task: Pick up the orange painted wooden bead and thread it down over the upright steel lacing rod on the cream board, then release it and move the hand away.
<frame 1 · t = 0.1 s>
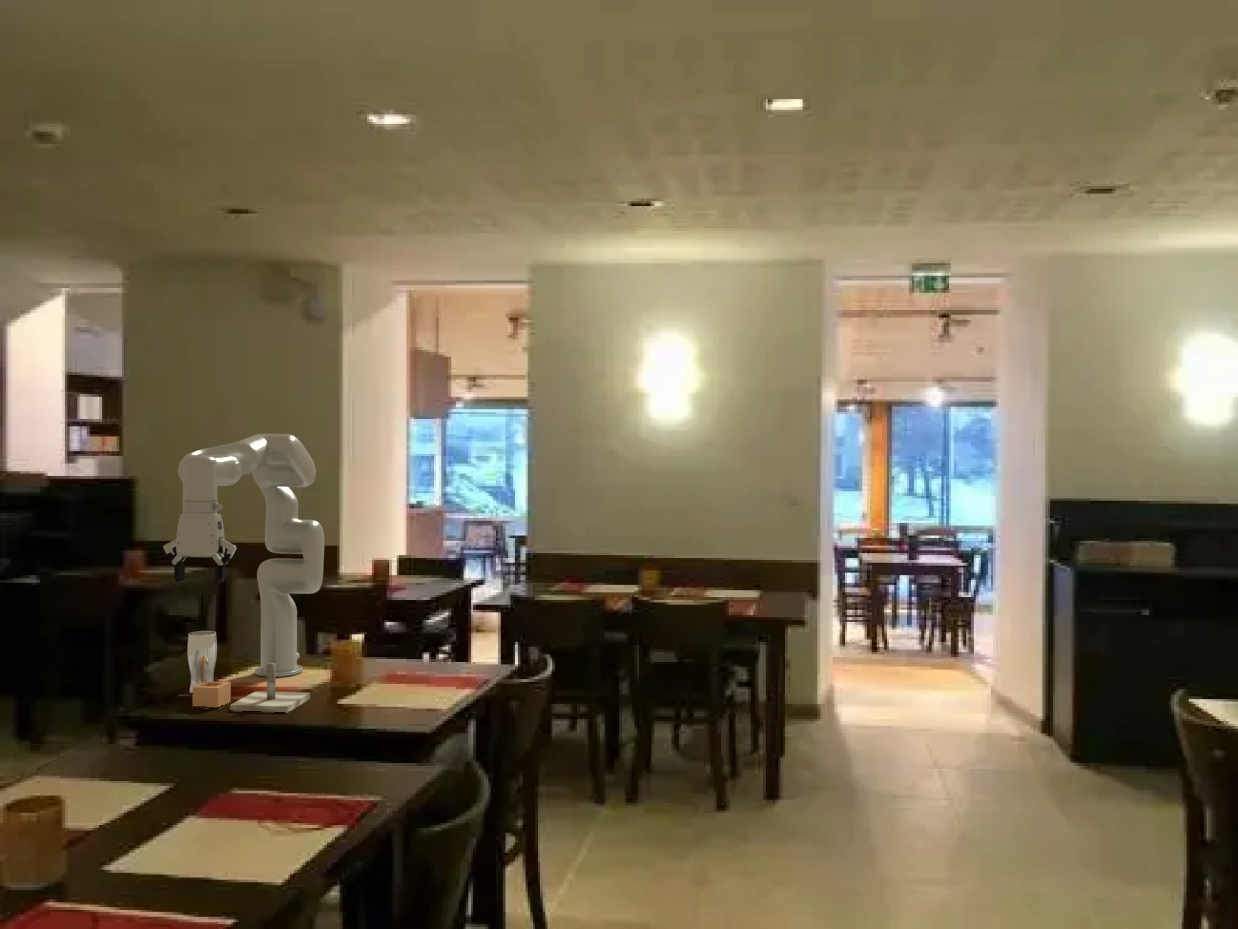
hand: (199, 581, 246), 31 cm above the table, fingers open, 9 cm apart
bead: (211, 705, 255), on the table
lacing board: (271, 704, 255), on the table
beer glass: (202, 692, 268), on the table
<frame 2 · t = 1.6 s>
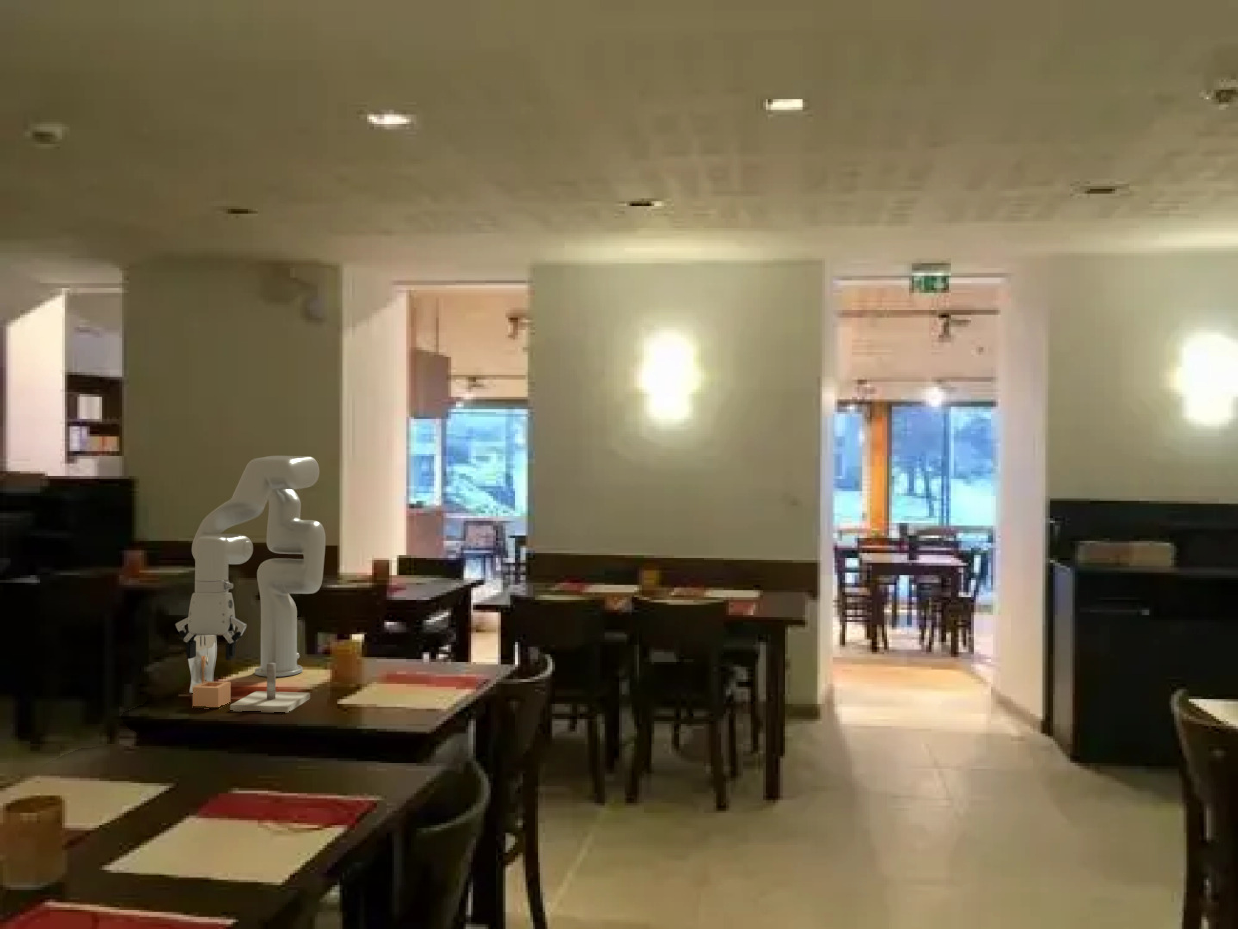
hand: (210, 658, 254), 11 cm above the table, fingers open, 9 cm apart
nothing on the table moved.
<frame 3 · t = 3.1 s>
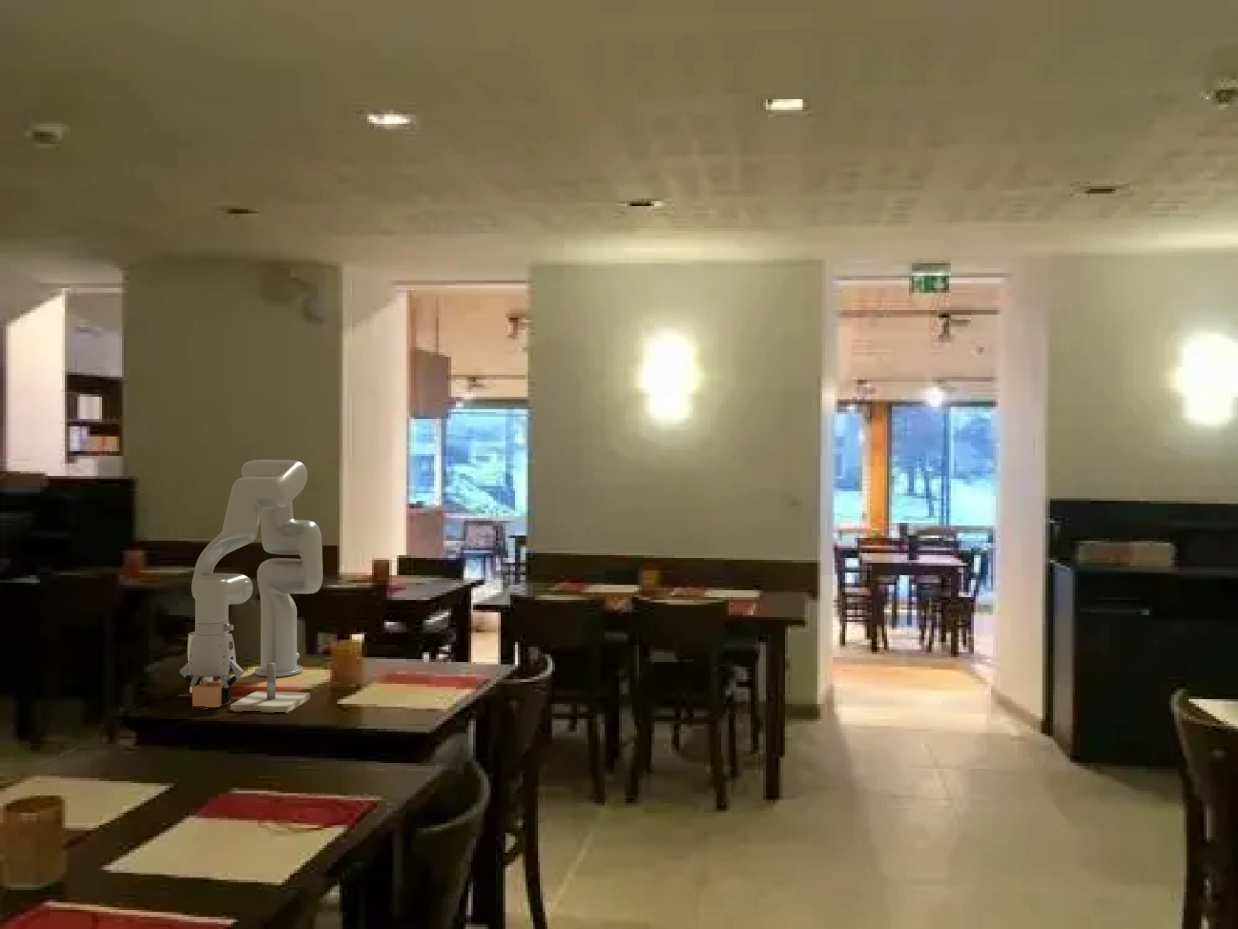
hand: (211, 702, 254), 1 cm above the table, fingers closed on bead, 6 cm apart
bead: (211, 705, 254), on the table, touching gripper
everything else where it was.
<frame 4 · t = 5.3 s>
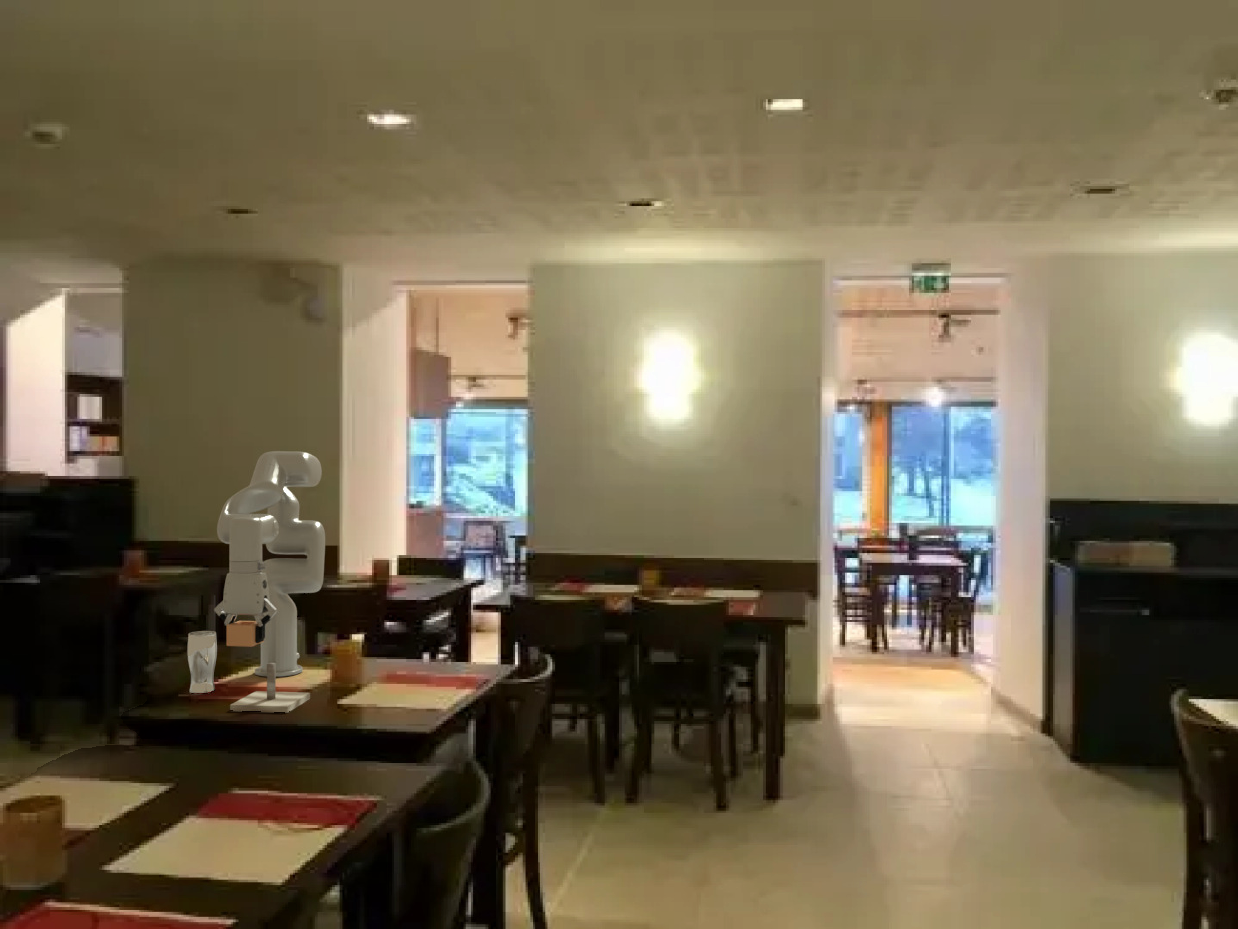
hand: (245, 641, 255), 16 cm above the table, fingers closed on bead, 6 cm apart
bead: (245, 643, 255), point 15 cm above the table, touching gripper
everything else where it was.
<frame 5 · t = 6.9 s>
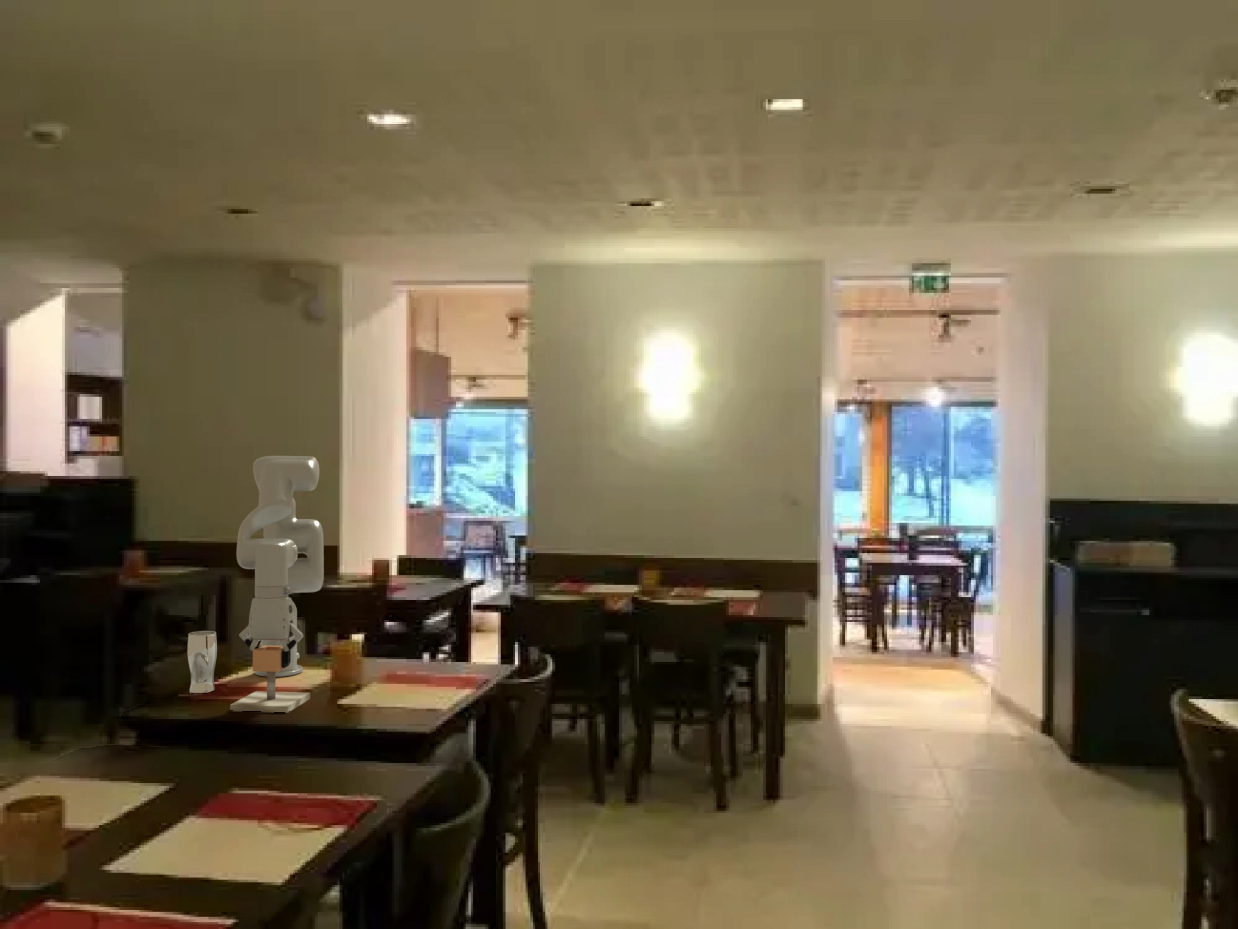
hand: (271, 666, 255), 10 cm above the table, fingers closed on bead, 6 cm apart
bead: (271, 668, 255), point 9 cm above the table, touching gripper
everything else where it was.
when the fingers open (7 cm above the table, at t = 7.8 s): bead drops 5 cm, resting on lacing board.
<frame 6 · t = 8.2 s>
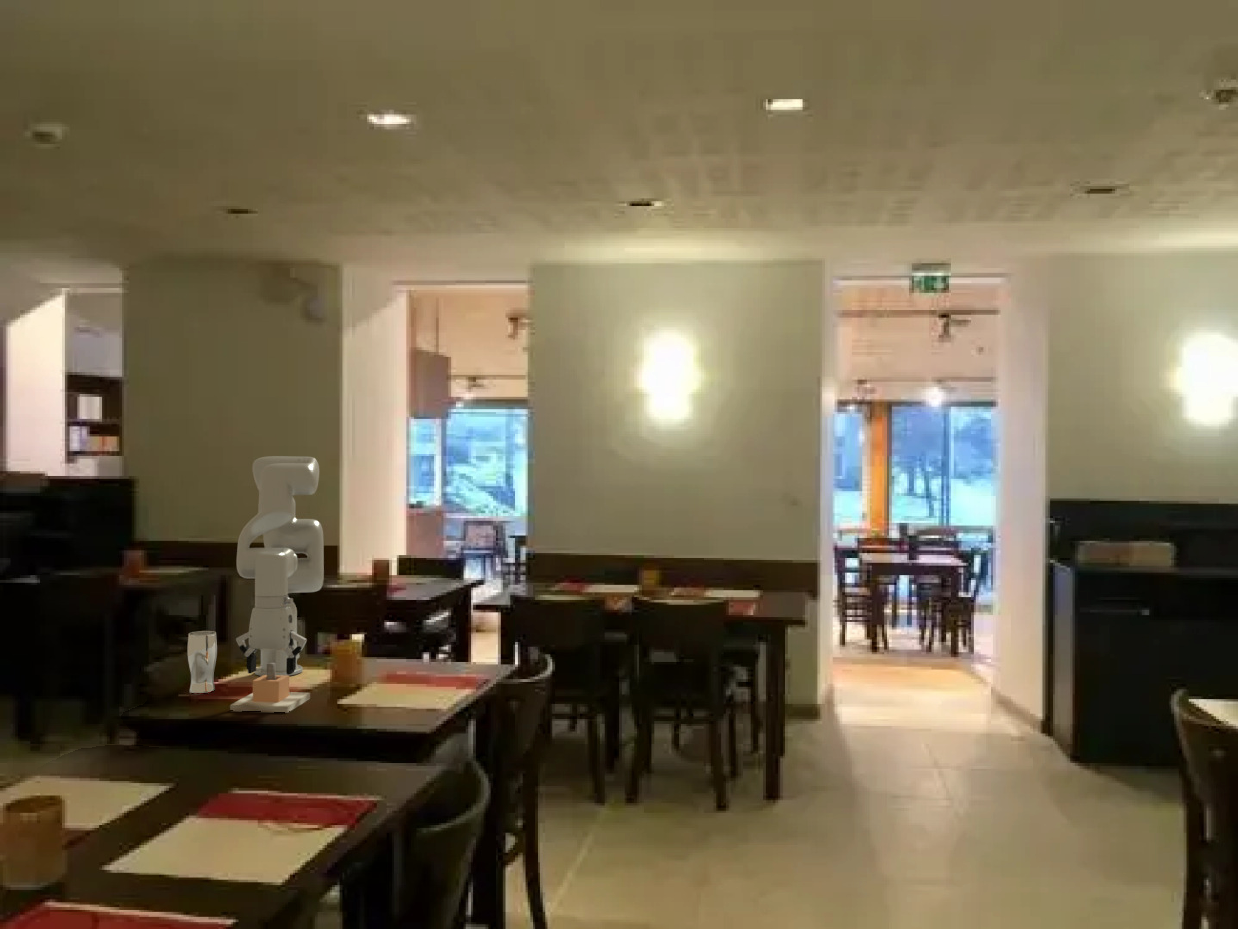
hand: (271, 672, 255), 8 cm above the table, fingers open, 9 cm apart
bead: (271, 698, 255), point 1 cm above the table, touching lacing board
everything else where it was.
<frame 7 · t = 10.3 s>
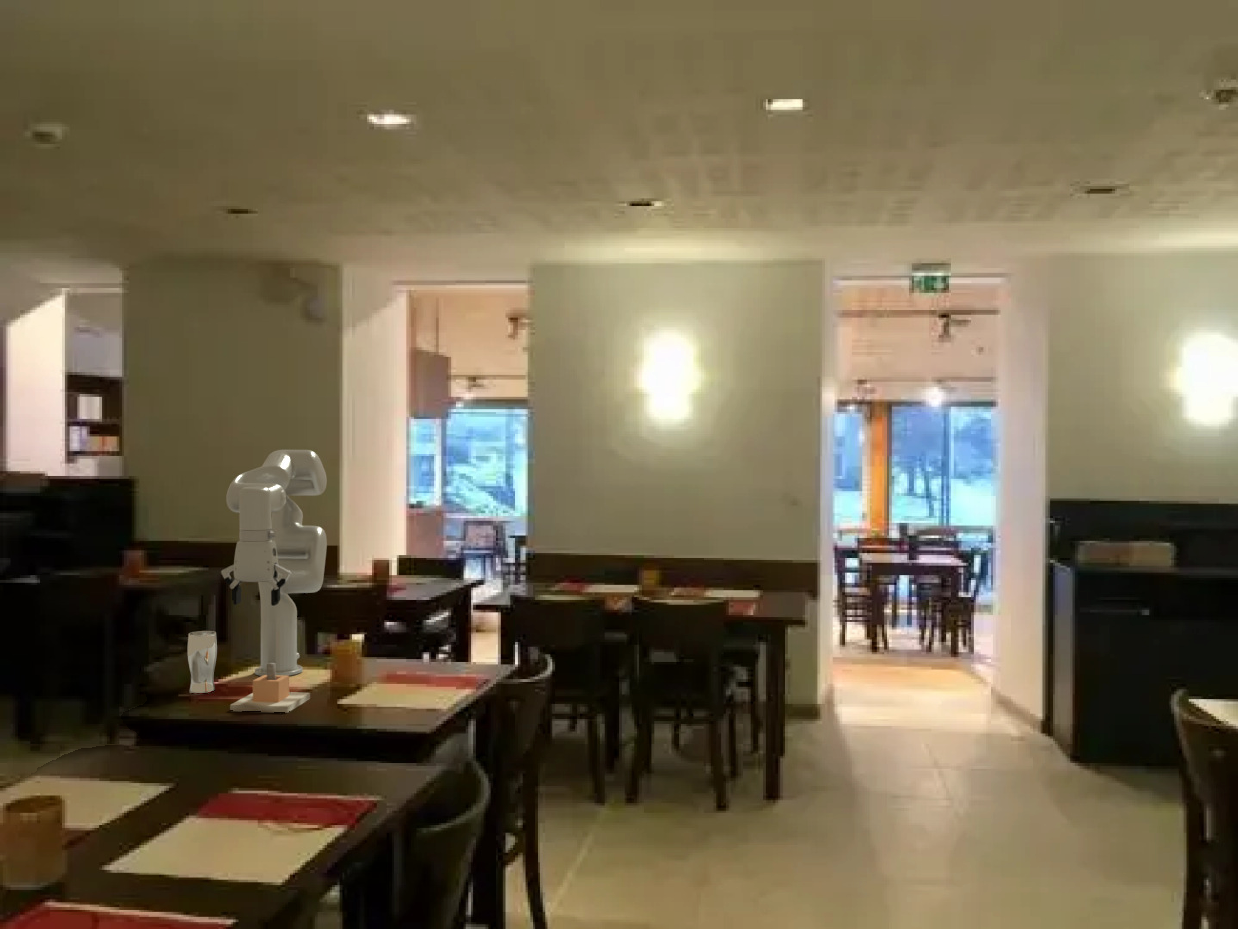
hand: (256, 604, 263), 23 cm above the table, fingers open, 9 cm apart
nothing on the table moved.
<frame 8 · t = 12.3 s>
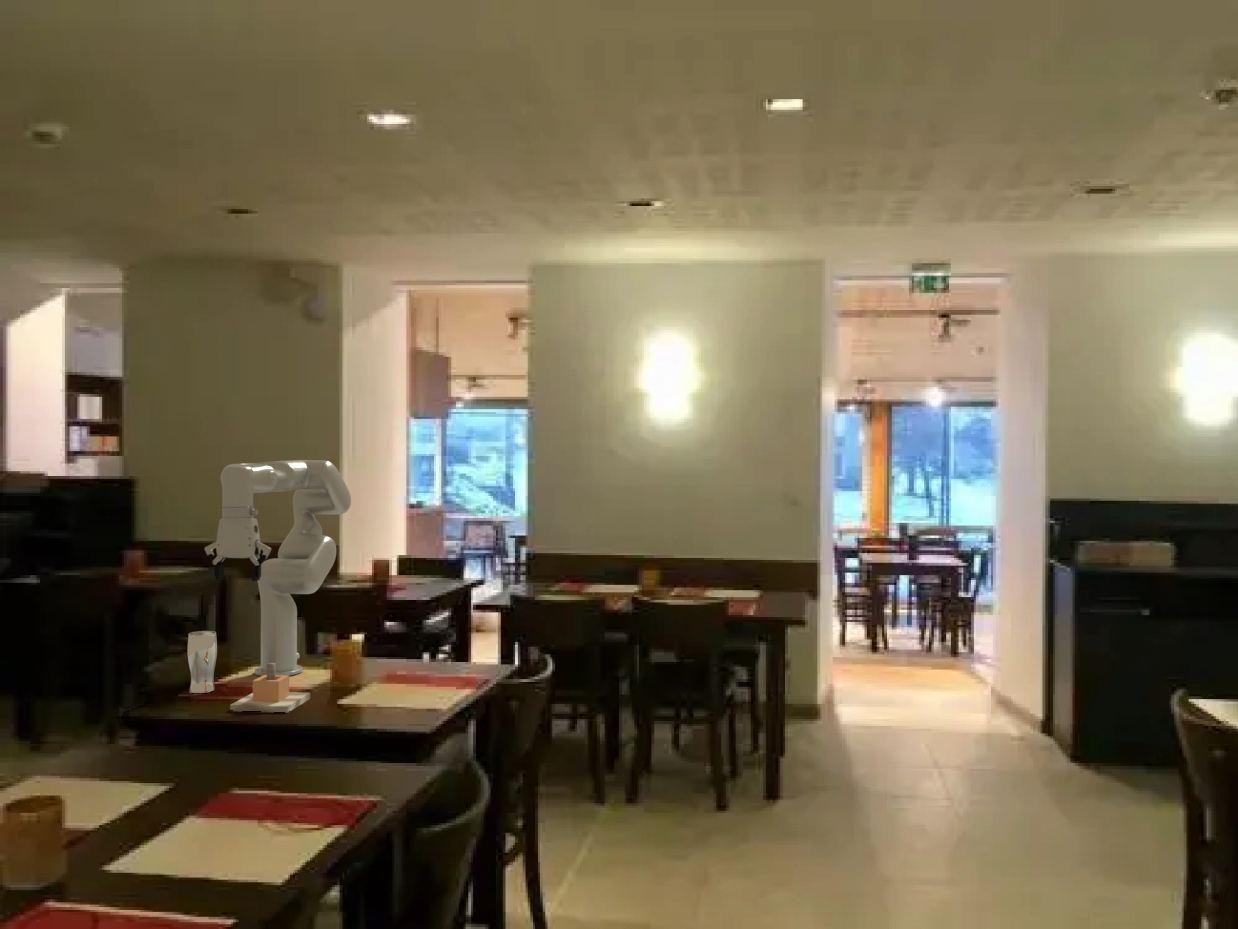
hand: (237, 580, 270), 28 cm above the table, fingers open, 9 cm apart
nothing on the table moved.
at the end: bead 0.0 cm off-centre on the lacing board, point 1.5 cm above the lacing board's base; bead tilted 0°; the gripper is holding nothing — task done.
